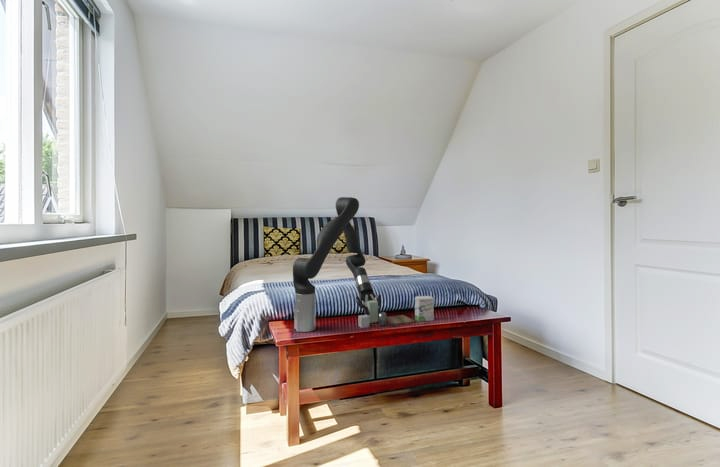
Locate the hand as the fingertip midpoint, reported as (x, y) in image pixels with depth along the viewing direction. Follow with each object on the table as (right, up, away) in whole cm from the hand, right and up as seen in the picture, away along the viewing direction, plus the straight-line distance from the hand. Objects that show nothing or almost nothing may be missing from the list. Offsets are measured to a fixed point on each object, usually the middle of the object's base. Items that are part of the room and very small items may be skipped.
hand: (373, 314), depth 194 cm
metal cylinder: (+4, -5, -5) cm, 8 cm away
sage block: (-1, -4, +2) cm, 5 cm away
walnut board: (+13, -4, +3) cm, 14 cm away
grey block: (-5, -5, -6) cm, 9 cm away
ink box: (+26, -4, +6) cm, 27 cm away
